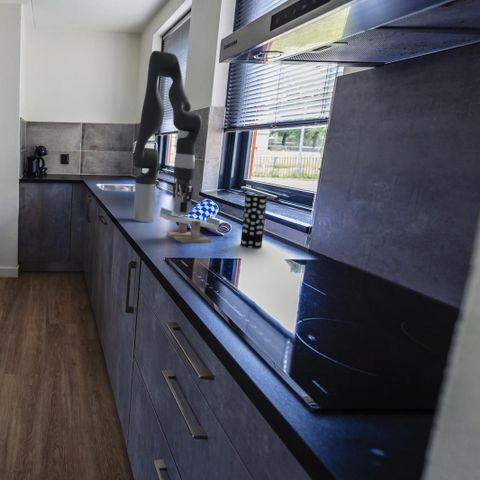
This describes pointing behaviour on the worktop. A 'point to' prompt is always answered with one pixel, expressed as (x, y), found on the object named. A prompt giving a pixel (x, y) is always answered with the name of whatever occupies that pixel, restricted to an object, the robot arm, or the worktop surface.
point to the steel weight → (178, 206)
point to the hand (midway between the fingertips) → (180, 210)
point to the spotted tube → (253, 220)
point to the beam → (188, 219)
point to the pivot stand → (188, 233)
